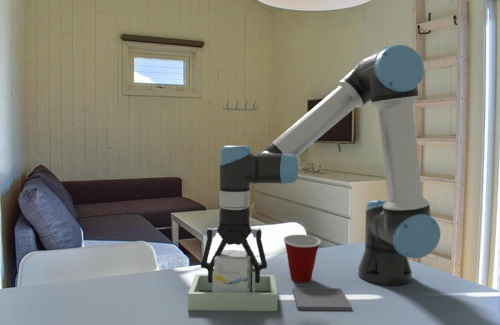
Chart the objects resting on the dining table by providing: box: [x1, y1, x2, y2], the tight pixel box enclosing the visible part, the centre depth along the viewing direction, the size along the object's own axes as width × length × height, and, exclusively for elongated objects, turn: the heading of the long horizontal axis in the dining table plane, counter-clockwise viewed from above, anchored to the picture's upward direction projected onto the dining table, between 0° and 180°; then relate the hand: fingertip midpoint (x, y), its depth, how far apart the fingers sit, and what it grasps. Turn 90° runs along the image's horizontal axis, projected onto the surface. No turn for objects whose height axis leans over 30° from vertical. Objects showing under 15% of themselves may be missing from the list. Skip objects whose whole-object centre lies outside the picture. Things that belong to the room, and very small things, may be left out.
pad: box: [291, 287, 353, 311], centre depth 114 cm, size 13×13×1 cm
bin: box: [187, 273, 279, 312], centre depth 114 cm, size 21×15×4 cm
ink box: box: [213, 249, 254, 293], centre depth 114 cm, size 8×8×12 cm
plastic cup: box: [283, 234, 322, 283], centre depth 130 cm, size 11×11×12 cm
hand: (233, 295), depth 114 cm, fingers closed on ink box, 9 cm apart
